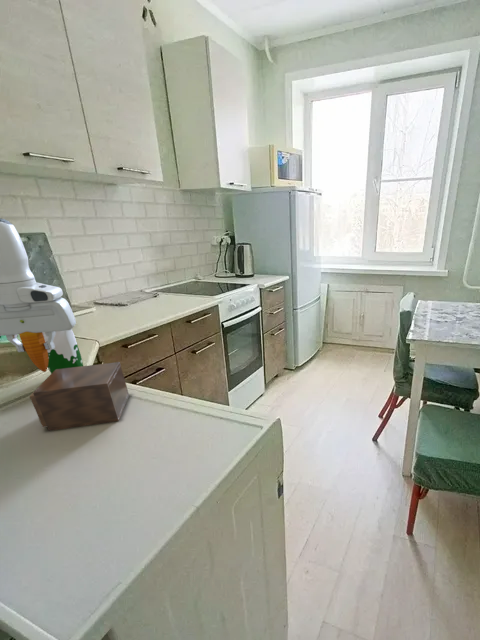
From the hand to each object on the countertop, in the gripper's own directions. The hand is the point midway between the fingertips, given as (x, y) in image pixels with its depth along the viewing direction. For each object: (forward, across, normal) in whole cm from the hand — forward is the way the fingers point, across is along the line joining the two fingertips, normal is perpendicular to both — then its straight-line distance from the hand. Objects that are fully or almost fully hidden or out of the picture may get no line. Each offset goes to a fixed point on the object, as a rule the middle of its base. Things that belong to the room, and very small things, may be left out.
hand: (37, 350), depth 87 cm
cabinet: (+13, +13, -12) cm, 22 cm away
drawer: (+12, +10, -12) cm, 20 cm away
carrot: (+6, 0, 0) cm, 6 cm away
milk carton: (+13, 0, +13) cm, 19 cm away
